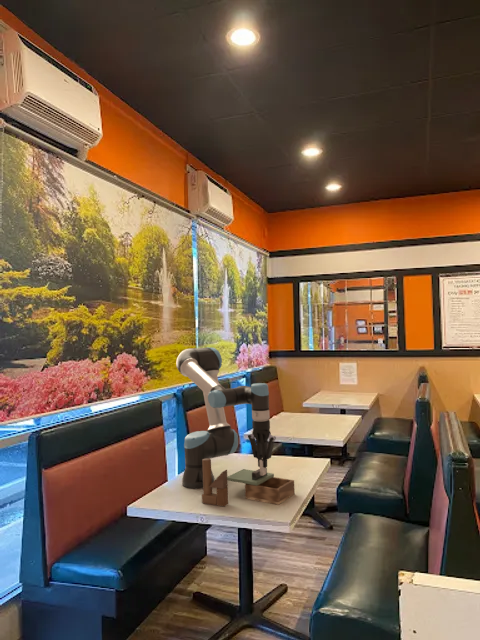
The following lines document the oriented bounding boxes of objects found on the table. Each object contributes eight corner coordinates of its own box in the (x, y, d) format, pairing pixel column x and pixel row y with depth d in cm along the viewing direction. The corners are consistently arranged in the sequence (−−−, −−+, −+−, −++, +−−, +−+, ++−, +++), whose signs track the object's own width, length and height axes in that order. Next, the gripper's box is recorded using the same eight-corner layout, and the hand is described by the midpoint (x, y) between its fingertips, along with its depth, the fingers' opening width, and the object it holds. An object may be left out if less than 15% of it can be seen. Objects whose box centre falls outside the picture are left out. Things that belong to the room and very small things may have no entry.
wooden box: (245, 498, 209) (244, 484, 209) (262, 488, 220) (262, 475, 220) (278, 504, 200) (277, 489, 200) (294, 494, 211) (294, 480, 211)
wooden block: (224, 507, 200) (222, 462, 200) (201, 503, 205) (200, 459, 205) (228, 503, 203) (227, 460, 203) (206, 500, 208) (204, 457, 208)
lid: (225, 480, 214) (225, 470, 214) (243, 471, 226) (243, 462, 226) (257, 485, 205) (256, 475, 205) (273, 476, 217) (273, 466, 217)
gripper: (243, 420, 213) (245, 475, 212) (269, 422, 205) (271, 479, 205) (252, 417, 219) (254, 470, 219) (278, 419, 212) (280, 474, 211)
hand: (263, 474), depth 212 cm, fingers closed
